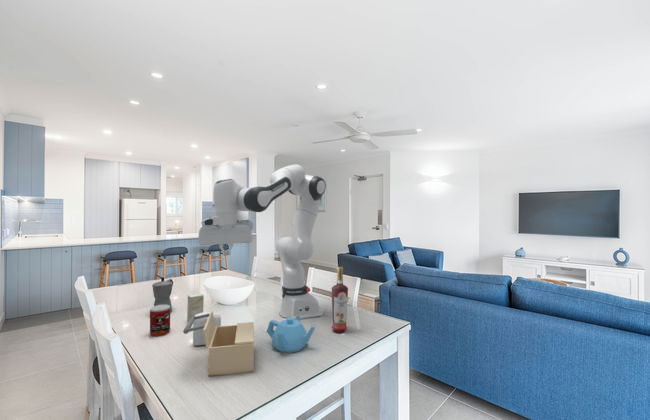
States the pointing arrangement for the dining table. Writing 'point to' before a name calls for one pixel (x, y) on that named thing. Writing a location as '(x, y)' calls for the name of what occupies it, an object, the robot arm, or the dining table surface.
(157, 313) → the canned food
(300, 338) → the teapot
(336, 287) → the liquor
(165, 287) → the coffeepot
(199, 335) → the photo printer
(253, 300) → the dining table surface
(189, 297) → the skincare box
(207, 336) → the far flap
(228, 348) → the carton
